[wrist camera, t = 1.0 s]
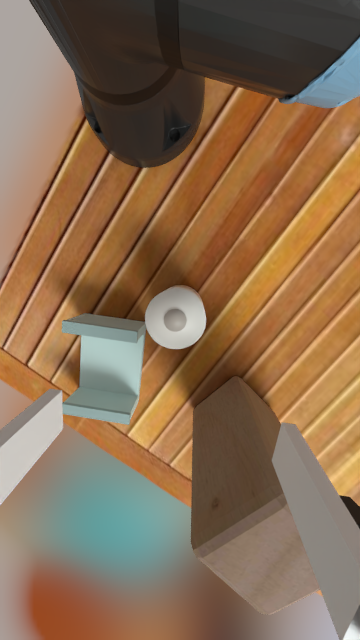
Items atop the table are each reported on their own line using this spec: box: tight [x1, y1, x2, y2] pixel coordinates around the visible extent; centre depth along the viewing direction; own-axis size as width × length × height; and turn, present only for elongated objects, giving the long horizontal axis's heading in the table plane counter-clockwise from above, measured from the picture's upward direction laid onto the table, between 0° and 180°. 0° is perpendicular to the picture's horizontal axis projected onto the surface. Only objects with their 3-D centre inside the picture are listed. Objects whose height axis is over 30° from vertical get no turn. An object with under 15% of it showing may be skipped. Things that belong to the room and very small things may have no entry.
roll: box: [145, 285, 206, 349], centre depth 29 cm, size 7×7×9 cm
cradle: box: [62, 313, 146, 425], centre depth 33 cm, size 14×10×6 cm
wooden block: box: [191, 376, 320, 615], centre depth 27 cm, size 10×10×20 cm
